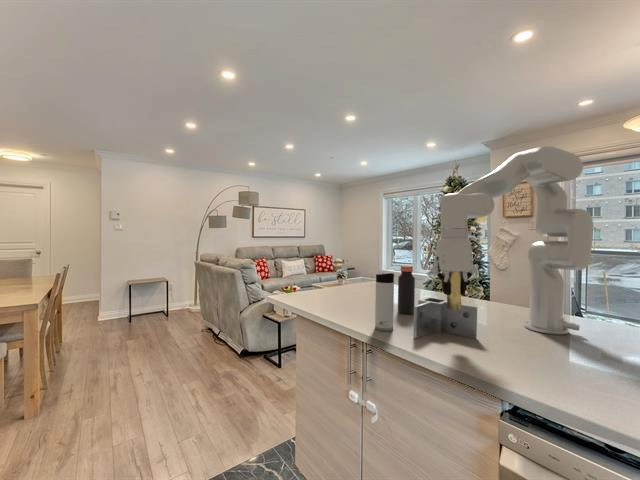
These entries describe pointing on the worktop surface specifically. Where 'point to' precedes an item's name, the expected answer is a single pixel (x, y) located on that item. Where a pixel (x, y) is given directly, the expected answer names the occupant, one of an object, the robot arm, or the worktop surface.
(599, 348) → the worktop surface
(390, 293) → the travel mug
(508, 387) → the worktop surface
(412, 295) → the bottle
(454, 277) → the hinge pin
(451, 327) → the hinge
